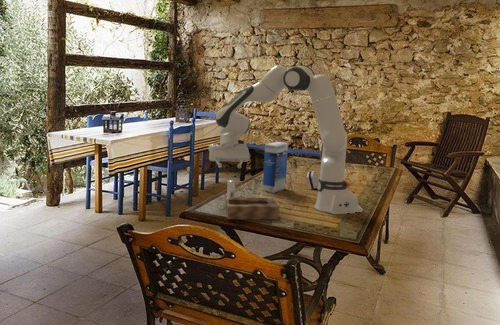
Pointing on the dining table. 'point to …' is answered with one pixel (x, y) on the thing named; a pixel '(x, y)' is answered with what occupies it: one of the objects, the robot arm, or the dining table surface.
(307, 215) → the dining table surface
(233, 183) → the steel peg
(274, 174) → the string lights box
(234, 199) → the wooden compartment tray
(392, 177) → the dining table surface
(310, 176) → the hinge
